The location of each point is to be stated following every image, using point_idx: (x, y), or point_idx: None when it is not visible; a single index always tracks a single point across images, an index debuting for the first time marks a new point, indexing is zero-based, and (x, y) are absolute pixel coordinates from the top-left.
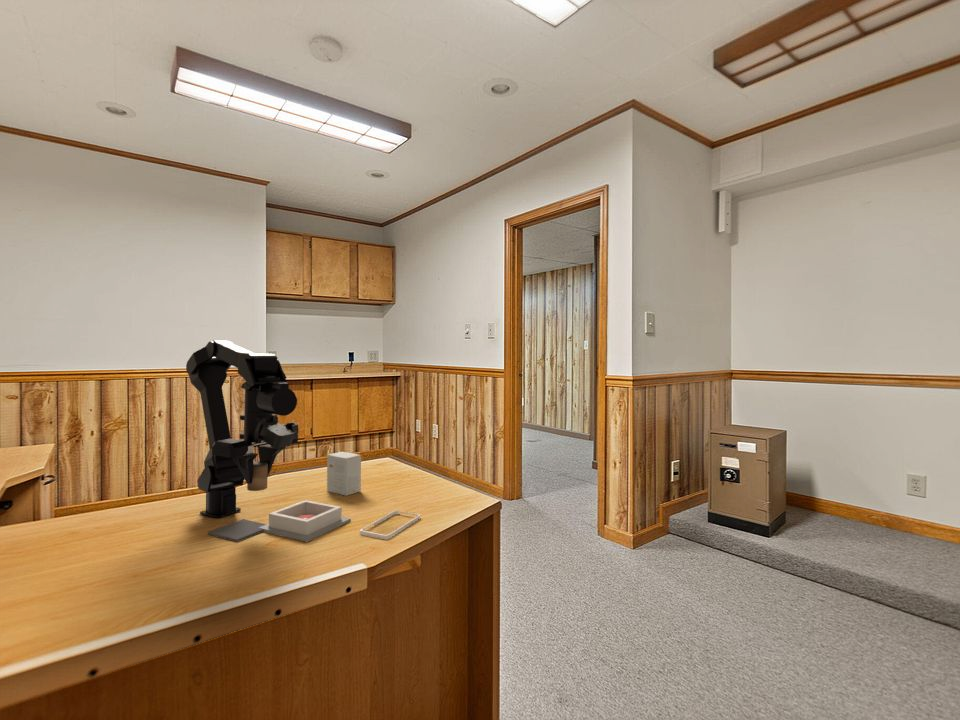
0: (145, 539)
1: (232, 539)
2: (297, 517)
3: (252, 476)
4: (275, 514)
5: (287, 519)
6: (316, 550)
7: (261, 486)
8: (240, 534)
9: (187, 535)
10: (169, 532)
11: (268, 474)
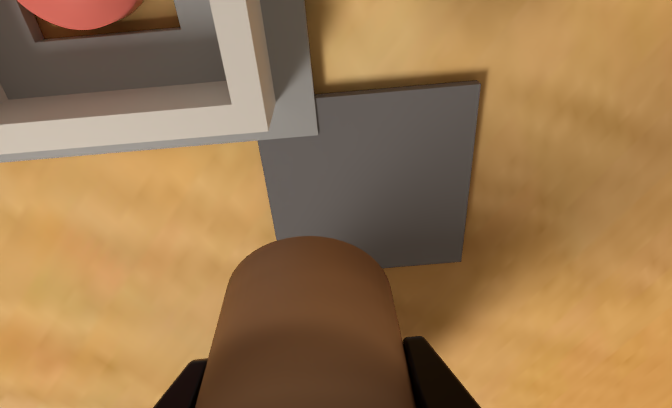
0: (567, 351)
1: (475, 116)
2: (104, 18)
3: (423, 395)
4: (251, 79)
5: None
6: None
7: (326, 262)
8: (423, 129)
9: (494, 295)
10: (494, 351)
11: (169, 393)
